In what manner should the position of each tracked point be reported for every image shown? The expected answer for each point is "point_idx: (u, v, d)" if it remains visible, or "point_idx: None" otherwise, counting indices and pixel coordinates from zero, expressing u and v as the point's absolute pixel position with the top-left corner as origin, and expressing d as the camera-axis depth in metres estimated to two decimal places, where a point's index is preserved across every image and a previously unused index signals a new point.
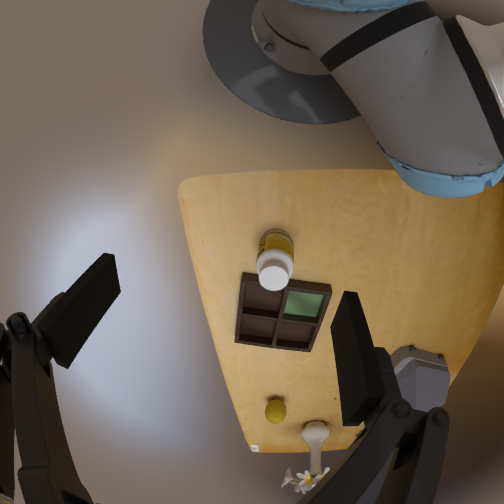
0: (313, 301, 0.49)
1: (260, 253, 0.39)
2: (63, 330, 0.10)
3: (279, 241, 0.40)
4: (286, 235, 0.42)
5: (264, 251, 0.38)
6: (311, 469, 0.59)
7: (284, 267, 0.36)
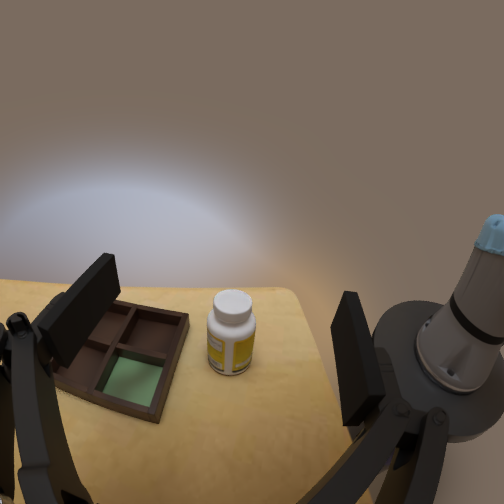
0: (132, 396, 0.25)
1: None
2: (63, 330, 0.10)
3: (253, 341, 0.30)
4: (248, 364, 0.31)
5: None
6: None
7: (247, 314, 0.27)
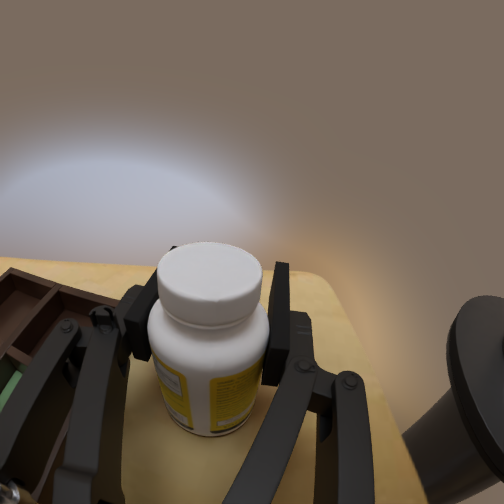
0: None
1: None
2: None
3: (261, 371, 0.13)
4: (247, 416, 0.13)
5: None
6: None
7: (248, 304, 0.09)
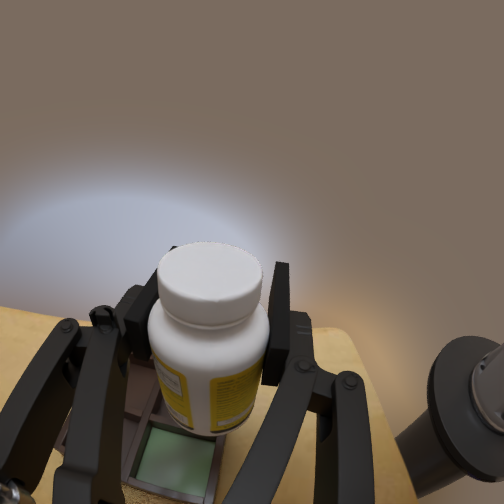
0: (176, 478, 0.17)
1: None
2: None
3: (261, 371, 0.13)
4: (247, 416, 0.13)
5: None
6: None
7: (248, 304, 0.09)
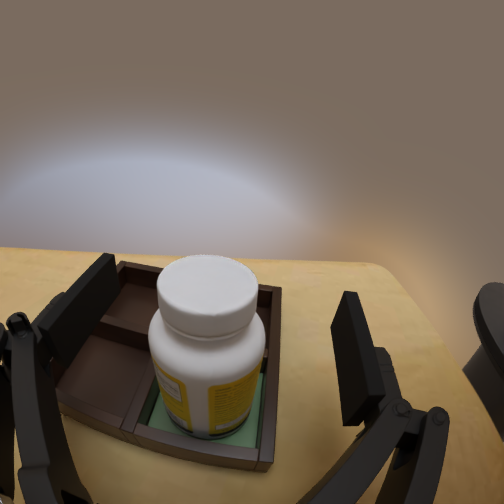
0: None
1: None
2: (63, 330, 0.10)
3: None
4: (244, 420, 0.14)
5: None
6: None
7: (244, 317, 0.10)
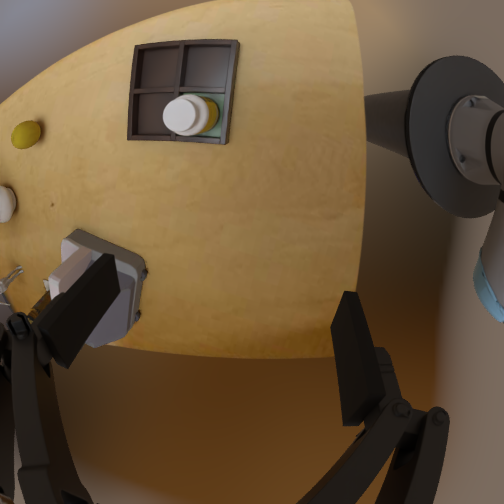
0: None
1: (201, 98, 0.29)
2: (63, 330, 0.10)
3: (213, 116, 0.32)
4: (215, 123, 0.35)
5: (205, 101, 0.29)
6: None
7: (193, 125, 0.28)
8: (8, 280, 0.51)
